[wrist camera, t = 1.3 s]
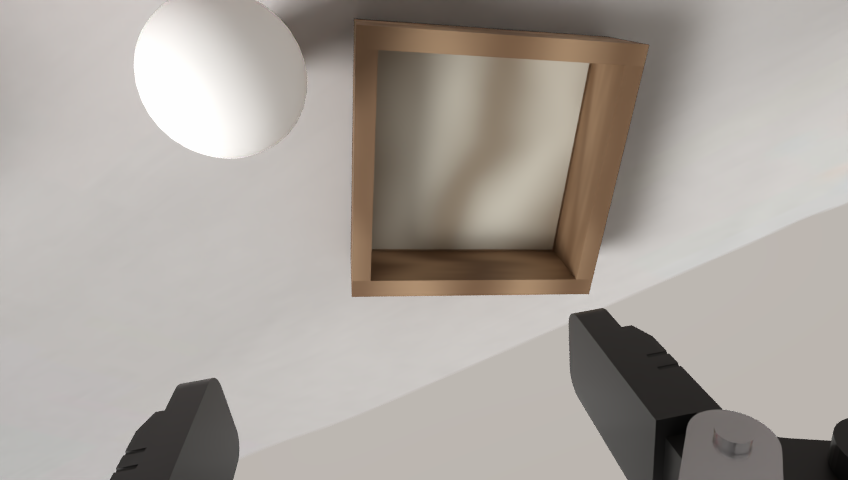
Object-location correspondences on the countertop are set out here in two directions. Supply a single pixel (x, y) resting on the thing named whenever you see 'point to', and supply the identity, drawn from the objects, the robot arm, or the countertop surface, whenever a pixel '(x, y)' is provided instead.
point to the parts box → (484, 157)
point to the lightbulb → (220, 75)
